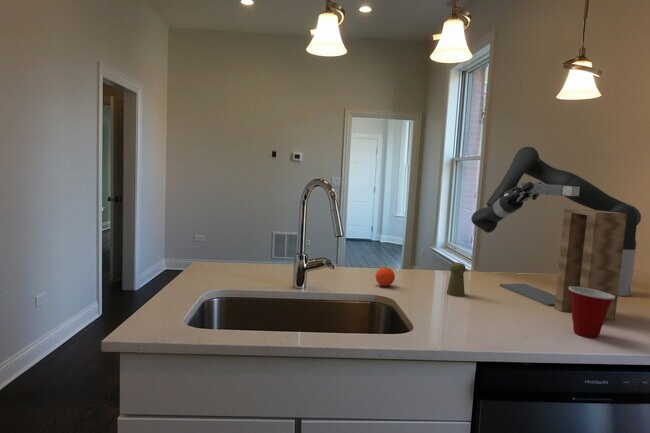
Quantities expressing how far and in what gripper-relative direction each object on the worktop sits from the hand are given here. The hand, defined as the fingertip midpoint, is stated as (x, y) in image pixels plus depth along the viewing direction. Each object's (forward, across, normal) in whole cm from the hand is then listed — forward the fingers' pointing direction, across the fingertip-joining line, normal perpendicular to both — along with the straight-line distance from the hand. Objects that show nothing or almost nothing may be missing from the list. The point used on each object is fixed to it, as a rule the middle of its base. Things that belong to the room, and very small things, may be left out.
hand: (536, 184), depth 159 cm
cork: (-18, -30, +35) cm, 49 cm away
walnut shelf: (+4, 0, +47) cm, 47 cm away
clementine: (-29, -50, +29) cm, 65 cm away
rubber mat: (-15, 0, +36) cm, 40 cm away
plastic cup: (+17, -14, +55) cm, 59 cm away
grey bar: (+4, 0, +6) cm, 7 cm away
